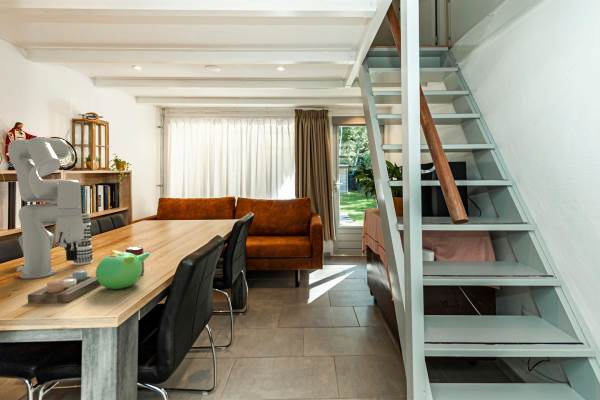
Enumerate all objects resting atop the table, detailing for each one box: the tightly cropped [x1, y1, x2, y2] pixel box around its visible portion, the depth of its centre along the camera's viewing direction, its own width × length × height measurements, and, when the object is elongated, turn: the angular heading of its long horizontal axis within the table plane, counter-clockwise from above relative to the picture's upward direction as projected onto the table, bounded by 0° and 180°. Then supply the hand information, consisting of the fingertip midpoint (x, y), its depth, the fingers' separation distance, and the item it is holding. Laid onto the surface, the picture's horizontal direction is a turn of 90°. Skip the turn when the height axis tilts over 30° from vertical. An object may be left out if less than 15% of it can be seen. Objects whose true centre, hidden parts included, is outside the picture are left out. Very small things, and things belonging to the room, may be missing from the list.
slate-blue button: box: [71, 269, 88, 282], centre depth 138 cm, size 5×5×4 cm
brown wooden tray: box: [27, 275, 102, 304], centre depth 132 cm, size 14×22×3 cm, turn 1°
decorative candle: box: [73, 213, 94, 266], centre depth 178 cm, size 9×9×25 cm
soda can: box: [124, 246, 145, 276], centre depth 155 cm, size 7×7×12 cm
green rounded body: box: [95, 249, 151, 290], centre depth 137 cm, size 18×17×15 cm
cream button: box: [61, 279, 77, 287], centre depth 132 cm, size 5×5×4 cm
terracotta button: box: [46, 279, 64, 294], centre depth 125 cm, size 5×5×4 cm
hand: (71, 260), depth 134 cm, fingers closed
